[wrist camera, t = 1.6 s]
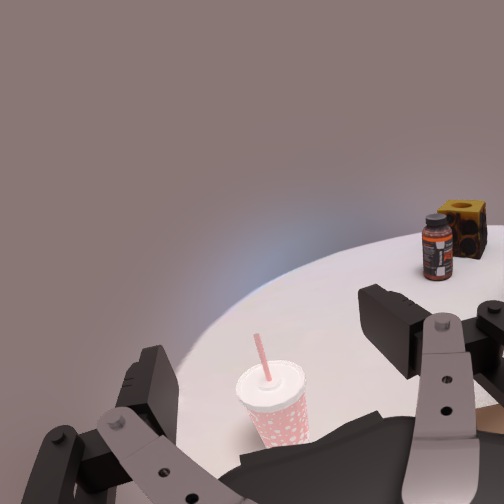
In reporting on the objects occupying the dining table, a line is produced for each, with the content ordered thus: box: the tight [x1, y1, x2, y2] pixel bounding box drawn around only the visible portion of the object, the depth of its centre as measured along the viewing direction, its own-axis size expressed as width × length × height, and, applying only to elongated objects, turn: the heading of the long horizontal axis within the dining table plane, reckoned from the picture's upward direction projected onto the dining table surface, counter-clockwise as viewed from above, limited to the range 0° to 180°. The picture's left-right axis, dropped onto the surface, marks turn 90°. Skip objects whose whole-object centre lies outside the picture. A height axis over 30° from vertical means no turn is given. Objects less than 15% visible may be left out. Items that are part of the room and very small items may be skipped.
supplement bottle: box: [422, 214, 453, 280], centre depth 49 cm, size 6×6×11 cm
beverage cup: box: [236, 334, 309, 449], centre depth 26 cm, size 6×6×14 cm
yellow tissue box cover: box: [437, 200, 487, 259], centre depth 56 cm, size 10×10×10 cm
